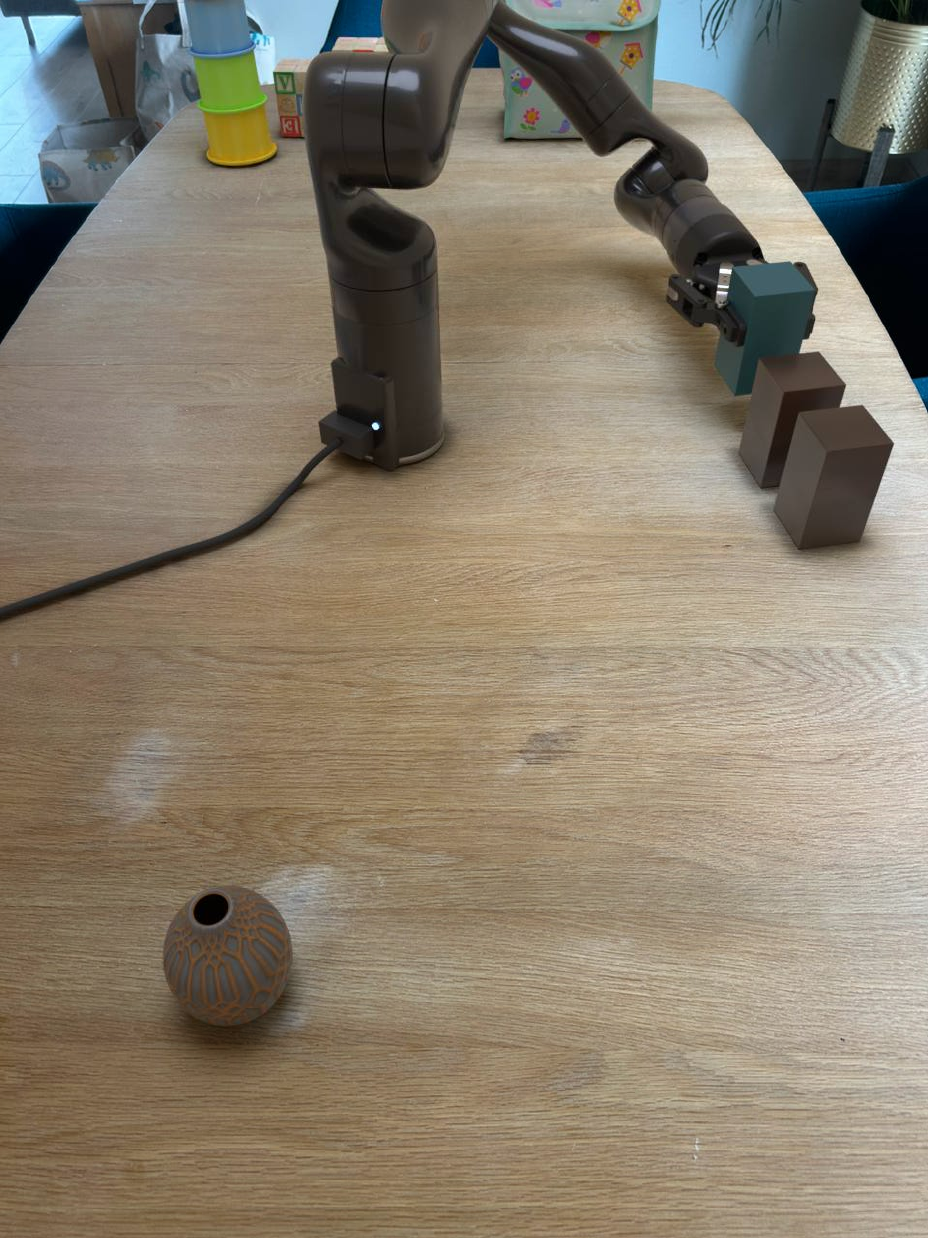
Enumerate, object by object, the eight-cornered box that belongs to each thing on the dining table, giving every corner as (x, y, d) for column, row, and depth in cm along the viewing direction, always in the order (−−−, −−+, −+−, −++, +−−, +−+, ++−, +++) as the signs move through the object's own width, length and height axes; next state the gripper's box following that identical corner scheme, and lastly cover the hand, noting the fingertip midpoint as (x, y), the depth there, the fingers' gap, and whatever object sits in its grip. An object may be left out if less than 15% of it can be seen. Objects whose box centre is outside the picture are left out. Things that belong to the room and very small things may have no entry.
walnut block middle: (818, 481, 90) (846, 384, 83) (760, 488, 90) (783, 391, 82) (793, 446, 94) (819, 350, 87) (738, 452, 93) (758, 357, 86)
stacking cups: (195, 165, 144) (136, -131, 120) (223, 139, 152) (172, -145, 127) (262, 170, 143) (216, -129, 118) (287, 144, 150) (248, -144, 125)
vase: (185, 934, 60) (151, 855, 54) (301, 923, 60) (280, 844, 54) (172, 1050, 55) (133, 978, 49) (298, 1037, 56) (274, 965, 49)
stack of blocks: (280, 137, 152) (268, 47, 143) (290, 123, 156) (278, 34, 147) (420, 140, 150) (416, 49, 141) (425, 125, 154) (421, 36, 146)
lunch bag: (496, 146, 148) (498, -71, 129) (498, 107, 159) (500, -97, 140) (652, 146, 147) (677, -73, 128) (643, 107, 158) (665, -99, 139)
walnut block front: (860, 541, 84) (894, 443, 77) (798, 549, 84) (827, 451, 77) (832, 501, 88) (862, 404, 81) (773, 509, 87) (798, 411, 80)
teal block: (790, 389, 93) (815, 289, 86) (734, 396, 93) (754, 296, 86) (768, 359, 97) (790, 260, 90) (713, 364, 96) (731, 266, 89)
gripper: (645, 218, 97) (704, 303, 85) (786, 205, 99) (862, 286, 87) (637, 290, 102) (691, 379, 91) (770, 277, 104) (840, 362, 92)
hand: (775, 333), depth 89 cm, fingers closed on teal block, 5 cm apart
